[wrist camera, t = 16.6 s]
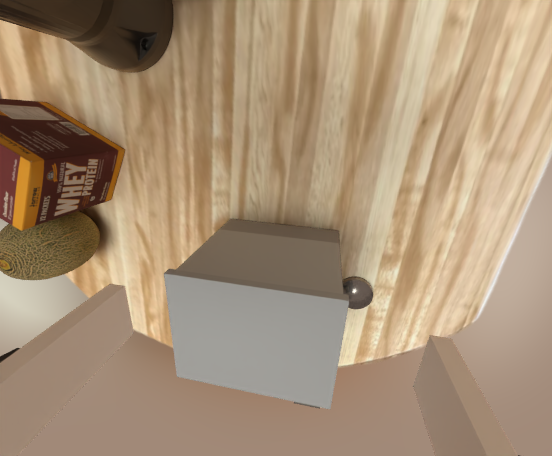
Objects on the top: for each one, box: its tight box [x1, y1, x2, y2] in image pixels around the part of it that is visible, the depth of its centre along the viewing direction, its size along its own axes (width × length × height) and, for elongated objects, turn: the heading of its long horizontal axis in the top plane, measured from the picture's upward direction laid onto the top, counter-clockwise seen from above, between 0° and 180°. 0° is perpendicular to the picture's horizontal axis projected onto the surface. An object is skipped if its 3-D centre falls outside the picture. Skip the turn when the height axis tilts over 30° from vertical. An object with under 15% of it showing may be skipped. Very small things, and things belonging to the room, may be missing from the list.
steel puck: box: [342, 277, 373, 309], centre depth 45 cm, size 6×6×2 cm
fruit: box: [0, 211, 100, 280], centre depth 45 cm, size 11×11×15 cm
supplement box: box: [0, 99, 125, 231], centre depth 39 cm, size 10×15×16 cm
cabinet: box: [164, 219, 349, 409], centre depth 38 cm, size 19×16×19 cm
